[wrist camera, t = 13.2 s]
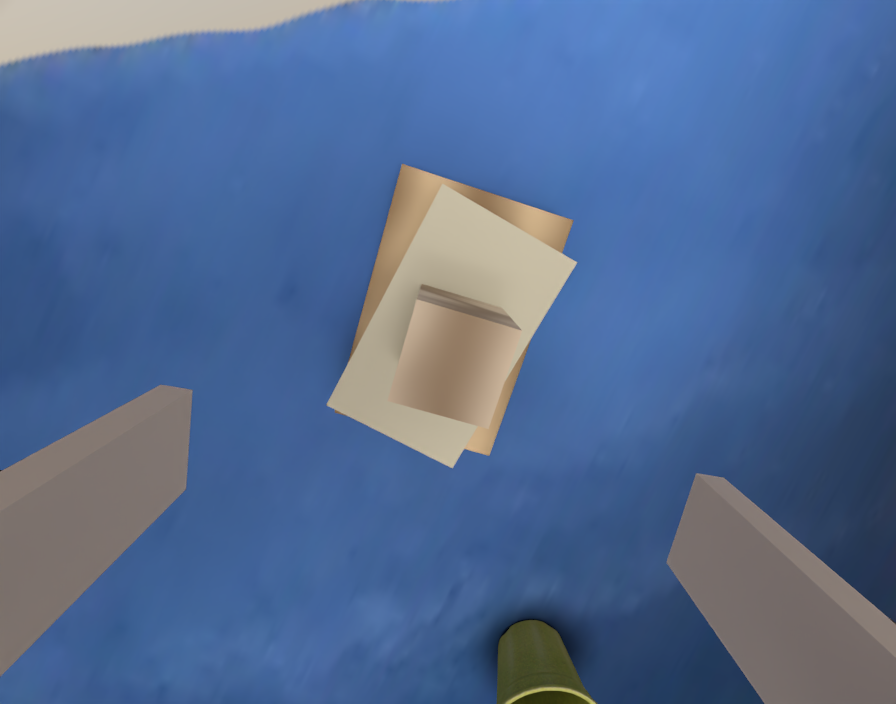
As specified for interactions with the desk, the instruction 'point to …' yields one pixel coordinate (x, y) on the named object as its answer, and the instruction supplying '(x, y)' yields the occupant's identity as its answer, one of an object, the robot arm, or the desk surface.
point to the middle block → (460, 272)
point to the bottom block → (399, 232)
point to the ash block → (455, 357)
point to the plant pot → (537, 668)
